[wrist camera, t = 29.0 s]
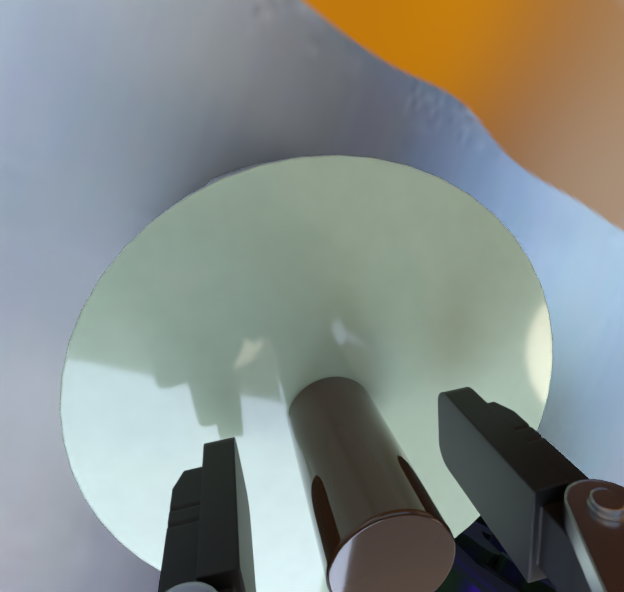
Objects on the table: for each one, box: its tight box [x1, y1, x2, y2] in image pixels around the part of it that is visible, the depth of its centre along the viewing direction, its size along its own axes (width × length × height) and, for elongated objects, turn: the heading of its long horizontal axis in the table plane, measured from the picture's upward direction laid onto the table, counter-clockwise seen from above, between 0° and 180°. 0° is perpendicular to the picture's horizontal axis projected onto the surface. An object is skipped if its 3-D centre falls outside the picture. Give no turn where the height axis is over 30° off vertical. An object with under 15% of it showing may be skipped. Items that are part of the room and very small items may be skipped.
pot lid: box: [60, 154, 553, 592], centre depth 11 cm, size 14×14×6 cm
